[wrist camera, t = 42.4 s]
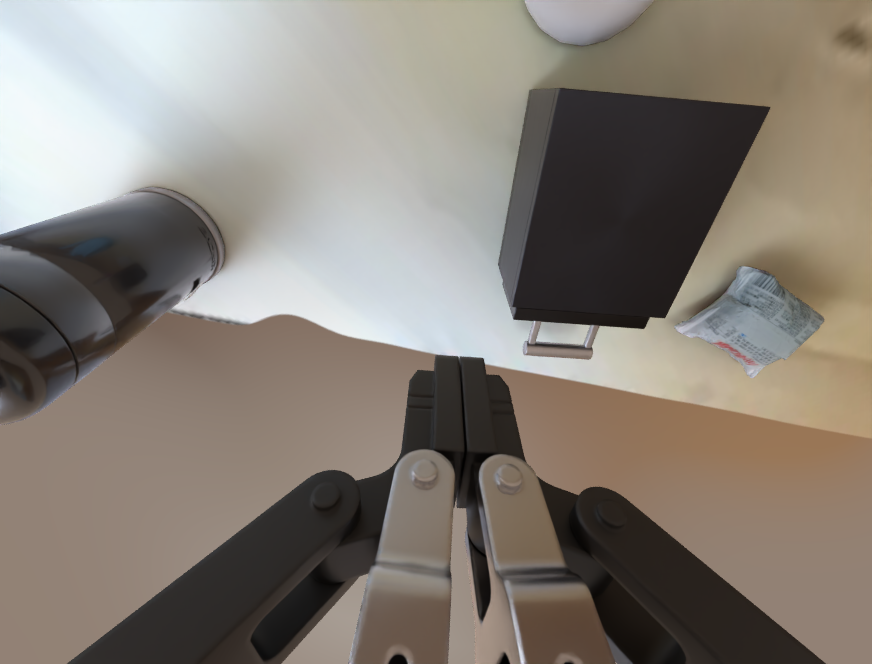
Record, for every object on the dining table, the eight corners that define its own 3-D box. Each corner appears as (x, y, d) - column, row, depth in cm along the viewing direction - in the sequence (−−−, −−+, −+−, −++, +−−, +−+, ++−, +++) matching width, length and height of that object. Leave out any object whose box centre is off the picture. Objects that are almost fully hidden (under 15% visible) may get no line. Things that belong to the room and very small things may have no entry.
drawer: (596, 335, 39) (622, 376, 34) (493, 328, 39) (502, 368, 33) (671, 144, 29) (726, 156, 23) (531, 132, 29) (553, 141, 23)
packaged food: (733, 362, 42) (765, 391, 38) (664, 318, 39) (690, 344, 35) (807, 307, 38) (852, 332, 34) (736, 252, 35) (776, 273, 31)
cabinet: (621, 274, 36) (665, 318, 29) (497, 264, 36) (511, 307, 29) (688, 103, 28) (771, 106, 21) (529, 89, 28) (559, 87, 21)
